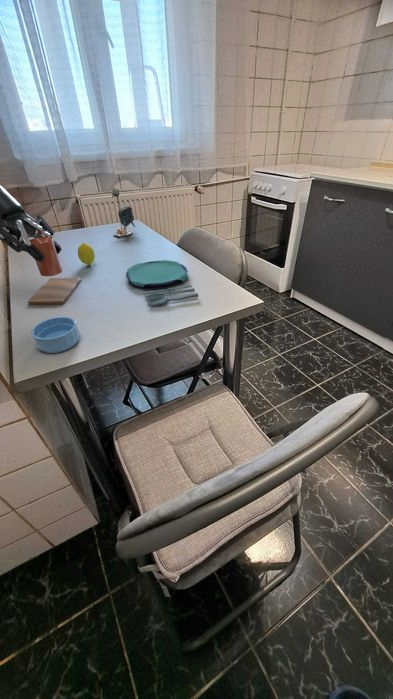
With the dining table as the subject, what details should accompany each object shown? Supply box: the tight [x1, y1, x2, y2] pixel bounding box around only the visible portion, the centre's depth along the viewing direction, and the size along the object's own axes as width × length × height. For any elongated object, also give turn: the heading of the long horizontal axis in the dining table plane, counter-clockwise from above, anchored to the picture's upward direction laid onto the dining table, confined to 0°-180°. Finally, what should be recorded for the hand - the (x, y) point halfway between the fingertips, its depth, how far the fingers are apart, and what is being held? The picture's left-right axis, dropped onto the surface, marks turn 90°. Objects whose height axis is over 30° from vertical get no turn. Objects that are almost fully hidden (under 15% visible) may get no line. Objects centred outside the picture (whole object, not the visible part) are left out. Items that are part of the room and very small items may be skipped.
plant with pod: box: [111, 186, 136, 237], centre depth 131 cm, size 8×11×20 cm
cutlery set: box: [125, 259, 199, 307], centre depth 92 cm, size 20×30×2 cm, turn 17°
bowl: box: [30, 316, 81, 354], centre depth 67 cm, size 9×10×4 cm
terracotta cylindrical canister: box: [29, 236, 63, 277], centre depth 76 cm, size 6×6×8 cm
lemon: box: [77, 242, 96, 266], centre depth 104 cm, size 6×6×8 cm
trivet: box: [27, 277, 82, 306], centre depth 89 cm, size 16×10×1 cm, turn 0°
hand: (51, 255), depth 76 cm, fingers closed on terracotta cylindrical canister, 5 cm apart
